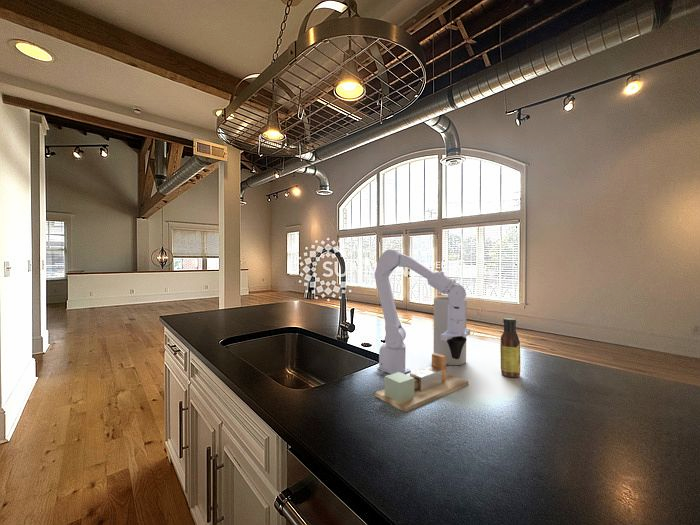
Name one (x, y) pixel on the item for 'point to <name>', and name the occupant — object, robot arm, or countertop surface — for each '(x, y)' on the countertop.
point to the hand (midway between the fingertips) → (455, 358)
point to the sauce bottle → (510, 349)
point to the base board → (425, 394)
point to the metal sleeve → (428, 378)
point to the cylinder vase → (441, 327)
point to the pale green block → (399, 386)
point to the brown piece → (438, 363)
